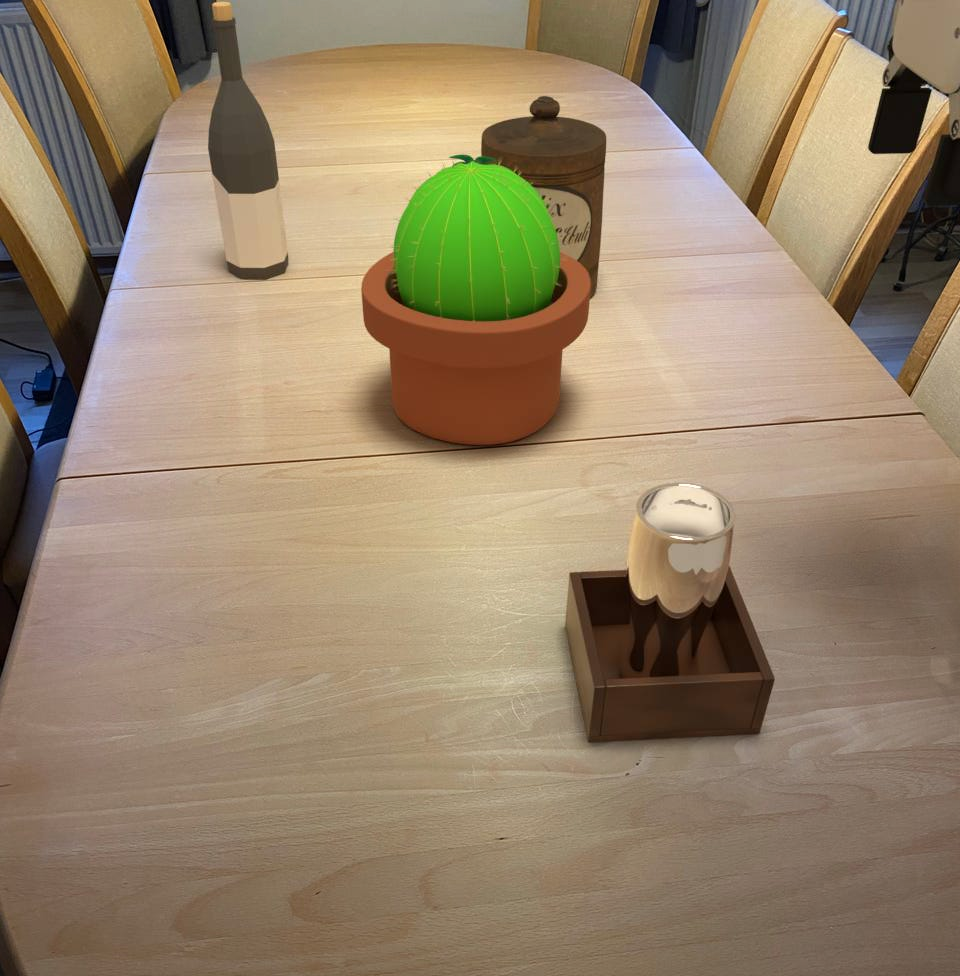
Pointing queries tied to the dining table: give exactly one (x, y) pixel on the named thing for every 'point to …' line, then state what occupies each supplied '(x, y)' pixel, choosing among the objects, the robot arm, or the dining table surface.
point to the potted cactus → (476, 306)
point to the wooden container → (558, 173)
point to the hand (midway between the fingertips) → (917, 176)
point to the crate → (672, 699)
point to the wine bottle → (244, 166)
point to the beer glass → (674, 577)
